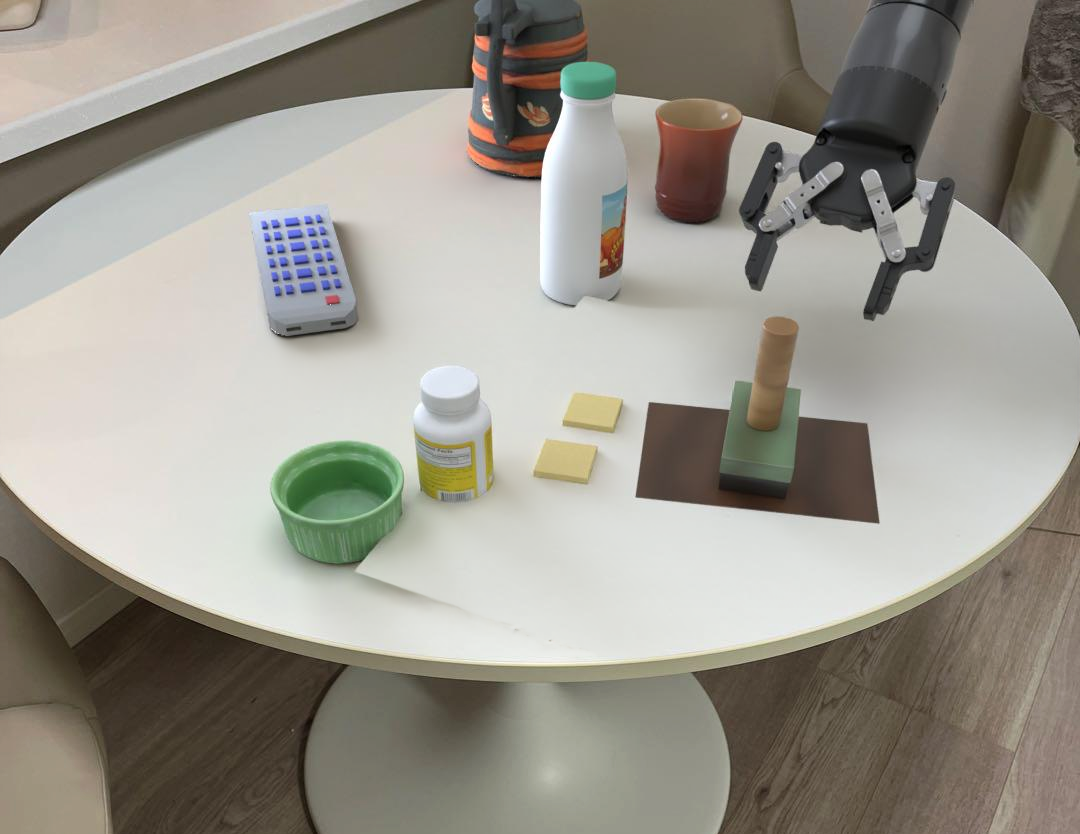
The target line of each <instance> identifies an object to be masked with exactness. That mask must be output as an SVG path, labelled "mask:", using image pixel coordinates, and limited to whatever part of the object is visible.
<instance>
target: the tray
mask: <svg viewBox="0 0 1080 834" xmlns="http://www.w3.org/2000/svg"><path fill="white" fill-rule="evenodd" d="M729 412H730V409H727V408H715V407H707V406H705V407H704V406H696V405H695V406H694V405H686V404H685V405H684V404H674V403H664V402H656V401H655V402H654V401H649V402H648V405H647V413H646V418H645V426H644V432H643V440H642V448H641V454H640V460H639V461H640V462H639V469H638V475H637V483H636V488H635V497H634V498H637V499H646V500H653V501H654V500H655V501H663V502H664V501H665V502H674V503H683V504H690V505H691V504H693V505H703V506H710V507H711V506H712V507H719V508H728V509H729V508H730V509H738V510H747V511H755V512H756V511H758V512H765V513H776V514H785V515H794V516H804V517H812V518H821V519H830V520H831V519H832V520H841V521H849V522H850V521H851V522H860V523H869V524H870V523H871V524H877V525H878V524H880V515H879V507H878V500H877V491H876V484H875V475H874V467H873V459H872V451H871V444H870V435H869V427H868V423H867V422H858V421H849V420H848V421H847V420H839V419H829V418H828V419H827V418H819V417H818V418H816V417H808V416H807V417H806V416H799V419H798V430H797V441H796V452H795V463H794V471H793V475H792V480H791V483H789V486H788V491H787V495H786V499H781V498H774V497H768V496H761V495H755V494H748V493H741V492H735V491H728V490H722V489H718V486H719V479H720V472H719V470H720V464H721V458H722V452H723V446H724V440H725V435H726V429H727V423H728V418H729Z"/></svg>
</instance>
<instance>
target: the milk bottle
mask: <svg viewBox="0 0 1080 834" xmlns="http://www.w3.org/2000/svg"><path fill="white" fill-rule="evenodd" d="M616 88H617V72H616V70H615V68H613V67H612V66H610V65H608V64H606V63H602V62H597V61H589V62H577V63H573V64H569V65H567V66H566V67H564V68H563V69H562V72H561V94H560V96H561V98H562V99H563V107H562V112H561V115H560V118H559V121H558V124H557V127H556V129H555V131H554V133H553V135H552V137H551V139H550V142H549V144H548V146H547V149H546V152H545V156H544V161H543V167H542V177H541V181H540V182H541V185H540V220H539V221H540V225H539V226H540V230H539V247H540V248H539V285H540V287H541V289H542V291H543V292H544V293H545V295H546V296H548V298H550V299H552V300H553V301H556V302H558V303H561V304H565V305H571V306H577V305H578V304H579V303H580V302H581V301H582V299H583V298H584V297H585V296H586V297H589V298H594V299H598V300H602V301H609V300H611V299H613V297H615V296H616V295H617V294H618V292H619V291H620V289H621V285H622V275H623V264H624V249H625V235H626V222H627V221H626V220H627V219H626V218H627V204H628V203H627V202H628V176H629V173H628V172H629V171H628V161H627V153H626V150H625V146H624V144H623V141H622V138H621V136H620V133H619V131H618V128H617V125H616V121H615V117H614V113H613V111H614V110H613V101H614V100H615V99H616V93H615V92H616Z"/></svg>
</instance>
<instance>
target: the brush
mask: <svg viewBox="0 0 1080 834" xmlns="http://www.w3.org/2000/svg"><path fill="white" fill-rule="evenodd" d="M799 328H800V326H799V324H798V323H797V322H796V321H795V320H793V319H792V318H788V317H784V316H772V317H771V316H770V317H768V318H766V319H765V320H764V321H763V323H762V328H761V332H760V333H761V334H760V338H759V345H758V349H757V350H758V351H757V356H756V363H755V368H754V374H753V380H752V381H751V382H749V381H745V380H744V381H743V380H734V384H733V389H732V395H731V400H730V401H731V402H730V408H729V410H730V412H729V418H728V423H727V429H726V435H725V440H724V446H723V452H722V458H721V464H720V470H719V472H720V479H719V486H718V489H722V490H728V491H735V492H741V493H748V494H755V495H761V496H768V497H774V498H781V499H786V495H787V491H788V486H789V483H791V480H792V475H793V471H794V463H795V452H796V441H797V430H798V419H799V417H800V407H801V398H802V397H801V396H802V389H800V388H795V387H788V384H789V379H790V375H791V370H792V365H793V360H794V354H795V350H796V344H797V341H798V335H799V330H800V329H799Z"/></svg>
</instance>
